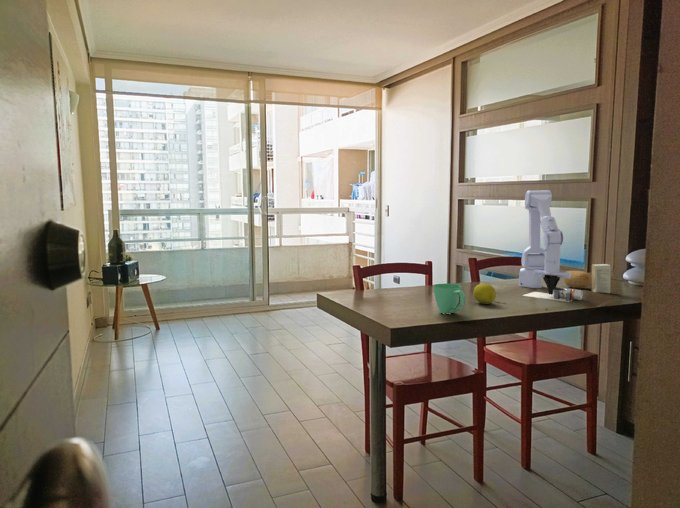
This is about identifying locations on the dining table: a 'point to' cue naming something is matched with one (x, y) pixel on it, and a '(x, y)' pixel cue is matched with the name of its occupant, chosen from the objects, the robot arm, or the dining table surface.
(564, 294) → the tube
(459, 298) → the mug
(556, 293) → the collar
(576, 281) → the potato
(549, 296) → the board
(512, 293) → the dining table surface
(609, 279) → the skincare box
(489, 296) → the lemon
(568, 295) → the collar
